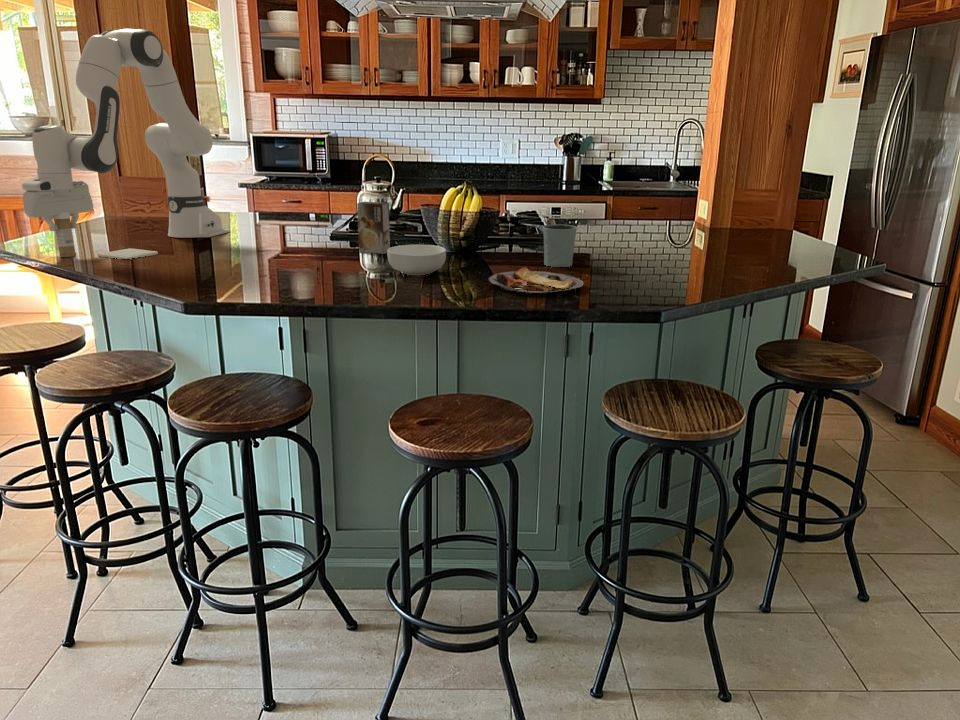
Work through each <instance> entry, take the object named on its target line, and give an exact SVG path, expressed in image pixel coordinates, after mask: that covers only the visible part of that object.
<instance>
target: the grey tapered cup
mask: <svg viewBox="0 0 960 720" xmlns="http://www.w3.org/2000/svg"><path fill="white" fill-rule="evenodd" d="M577 228H578V227H577V226H575V225H571V224H561V223H560V224H559V223H557V224H555V223H554V224H546V225H543V227H542V231H543V232H542V233H543V263H544V264H543V265H544V266H545V265H546V266H545V267H547V266H551V267H550V268H552V267H569V268H571V267H572V266H573V257H574V252H575V244H576V243H575V242H576V241H575V240H576V236H577V230H578V229H577ZM570 266H571V267H570Z"/></svg>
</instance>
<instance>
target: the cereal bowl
mask: <svg viewBox="0 0 960 720" xmlns="http://www.w3.org/2000/svg"><path fill="white" fill-rule="evenodd" d="M386 255H387V260H388V263H389V265H390V266H391V267H392V268H393V269H394V270H396V271H398V272H401V273H402V274H403V275H405V274H408V275H407V276H409V275H425V274H429V275H431V274H432V273H433V272H435V271H438V270H439V269H441V268H442V266H443V265H445V263H446V260H447V259H446V258H447V250H446V248H445V247H443V246H438V245H433V244H401V245H396V246H392V247H391V246H390V248H389V249H388V250H387V253H386ZM430 273H431V274H430Z"/></svg>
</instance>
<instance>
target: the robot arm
mask: <svg viewBox="0 0 960 720" xmlns="http://www.w3.org/2000/svg"><path fill="white" fill-rule="evenodd" d="M122 67H124V68H125V67H127V68H135V67H136V68H137V69H138V70H139V73H140V77H141V81H142V84H143V87H144V91H145V93H146V97H147V99H148V102H149V105H150V108H151V110H152V111H153V112H155V113H156V114H158V115H159V116H160V117H161V118H162V119H163V120H164V121H165V122H159V123H155V124H153V125H150V126H148V127H147V128H146V129H145V133H144V141H145V145H146V147H147V148H148V150H150V151H151V152H152V153H153V154H154V155H155V156H156V157H157V160H158V161H159V162H160V164H161V167H162V169H163V172H164V177H165V181H166V183H165V184H166V189H167V196H166V198H167V200H166V201H167V206H168V209H169V210H168V211H169V213H168V233H167V236H168V237H170V238H181V239H183V238H185V239H186V238H189V239H190V238H212V237H214V236H219V235H222V234H226V233H230V229H229V228H226V227H225V228H224V227H223V224H222V223H223V222H222V219H221V217H220V215H219V213H218V214H217V213H216V212H215V211H213V210H212V209H211V208H210V207H208V206H207V205H206V204H207V203H211V200H210V199H211V197H210V196H209V195H208V196H206V195H205V196H203V195H202V190H201V181H200V180H201V179H200V173H199V172H198V171H197V170H196V169H194V168H193V167H192V166H191V164H190V163H189V161H188V158H187V157H199V156H204V155H206V154H207V155H208V154H209V153H210V152H211V150H212V148H213V144H214V143H213V142H214V140H213V135H212V133H211V131H210V130H209V128H208V127H206V126H205V125H203V124H202V123H200V121H199V120H198V119H197V118H196V117H195V115H193V113H192V112H191V110H190V108H189V107H188V105H187V103H186V99H185V97H184V95H183V92H182V89H181V86H180V83H179V79H178V76H177V73H176V70H175V68H174V66H173V63H172V60H171V58H170V57H169V55H168V53H167V51H166V50H164V47H163V44H162V42H161V40H160V39H159V37H158V36H157V35H156V33H154V32H153V31H150V30H148V29H143V28H137V29H136V28H122V29H114V30H106V31H104V32H101V33H100V34H95V35H94V34H93V35H92V36H90V37H89V38H88V39H87V41H86V43H85V45H84V48H83V49H82V52H81V55H80V57H79V61H78V65H77V69H76V73H75V85H76V87H77V89H78V91H79V92H80V93H81V94H82V95H83V96H84V97H85V98H86V99H88V100H90V101H91V102H93V104H94V105H95V108H96V113H95V121H94V129H93V130H94V131H93V134H92V135H91V136H90V137H82V136H78V135H75V134H73V133H70V132H69V131H67V130H65V129H64V128H63V127H62V126H61V125H58V124H47V125H42V126H37V127H36V128H35V129H34V130H32V131H33V132H32V148H33V155H34V160H35V161H36V164H37V165H36V166H37V169H36V172H37V174H36V175H37V176H34V177H33V178H30V179H29V180H26V181H24V182H23V183H21V186H22V189H23V190H24V192H23V195H22V203H23V210H24V214H25V215H26V216H27V217H28V218H33V219H35V218H43V220H44V222H45V223H46V224H47V225H48V226H49V231H50V232H56V231H58V225H55V223H54V219H53V216H55V215H60V214H61V213H64V212H69V213H70V222H71V228H72V230H73V229H77V228H78V227H77V226H78V225H77V222H78V219H79V217H80V216H79V214H81V213H87V212H92V211H93V209H94V203H93V200H92V196H91V192H90V189H89V185H88V184H87V183H86V182H85V181H83V180H78V181H75V180H73V174H72V170H78V171H90V172H93V173H100V174H106V173H109V172H110V171H112V170H113V169H114V168H115V167H116V164H117V162H118V146H117V138H118V137H117V136H118V128H119V119H120V117H119V116H120V108H121V107H120V106H121V105H120V104H121V102H120V95H119V93H118V90H117V88H118V81H119V76H120V72H121V68H122ZM206 202H207V203H206Z"/></svg>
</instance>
